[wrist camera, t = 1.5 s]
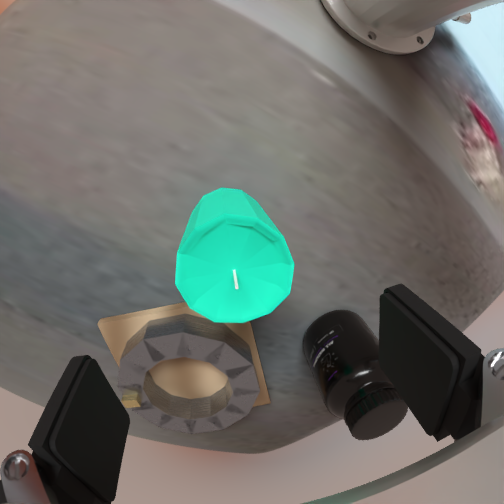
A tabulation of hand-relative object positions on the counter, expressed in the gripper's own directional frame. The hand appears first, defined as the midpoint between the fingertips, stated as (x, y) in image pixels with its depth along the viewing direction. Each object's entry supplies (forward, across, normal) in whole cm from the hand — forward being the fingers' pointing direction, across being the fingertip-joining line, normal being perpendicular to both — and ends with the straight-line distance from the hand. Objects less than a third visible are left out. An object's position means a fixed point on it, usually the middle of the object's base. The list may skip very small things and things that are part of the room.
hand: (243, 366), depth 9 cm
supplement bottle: (+17, -8, +13) cm, 23 cm away
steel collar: (+17, +7, +13) cm, 22 cm away
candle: (+17, 0, 0) cm, 17 cm away
